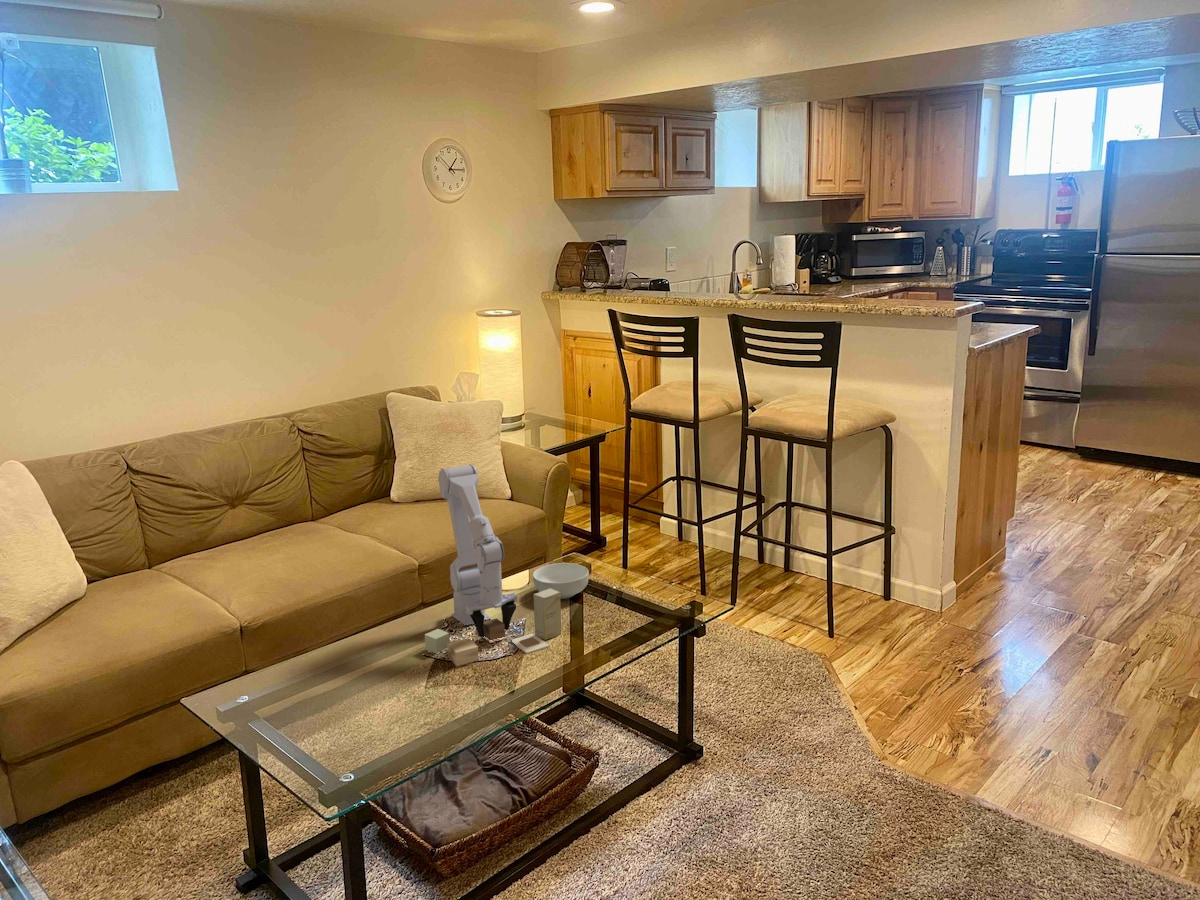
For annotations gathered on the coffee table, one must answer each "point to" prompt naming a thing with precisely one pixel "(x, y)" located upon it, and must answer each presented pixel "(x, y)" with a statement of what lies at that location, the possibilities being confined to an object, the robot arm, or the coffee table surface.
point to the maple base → (463, 652)
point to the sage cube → (436, 640)
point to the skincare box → (547, 613)
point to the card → (530, 643)
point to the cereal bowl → (561, 578)
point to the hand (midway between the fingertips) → (493, 632)
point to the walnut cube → (494, 629)
